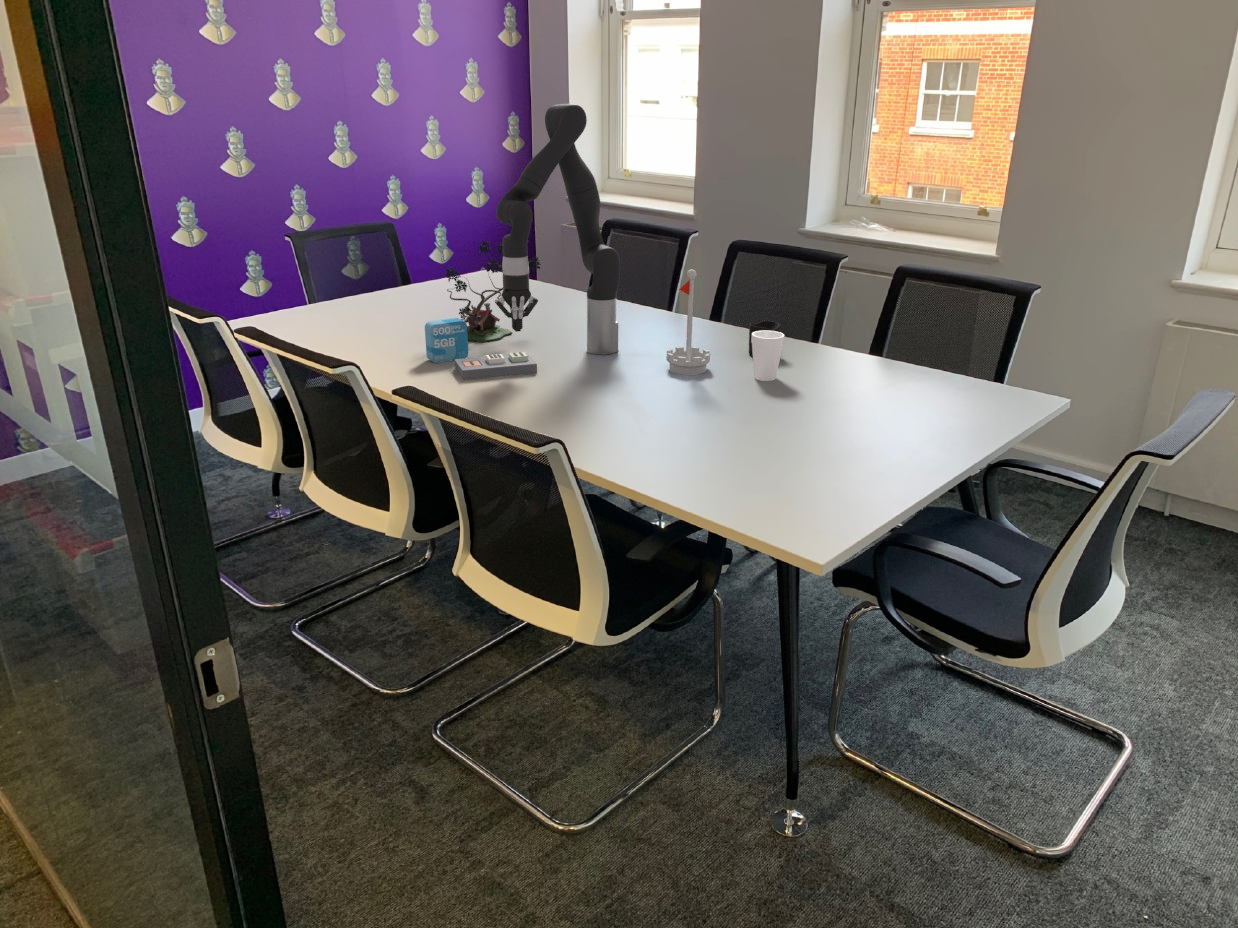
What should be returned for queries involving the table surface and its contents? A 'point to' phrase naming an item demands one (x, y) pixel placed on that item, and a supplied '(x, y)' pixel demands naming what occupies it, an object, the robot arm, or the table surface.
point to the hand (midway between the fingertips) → (517, 330)
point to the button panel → (494, 368)
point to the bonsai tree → (479, 319)
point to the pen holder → (761, 326)
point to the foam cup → (766, 353)
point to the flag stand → (688, 341)
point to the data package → (446, 340)
